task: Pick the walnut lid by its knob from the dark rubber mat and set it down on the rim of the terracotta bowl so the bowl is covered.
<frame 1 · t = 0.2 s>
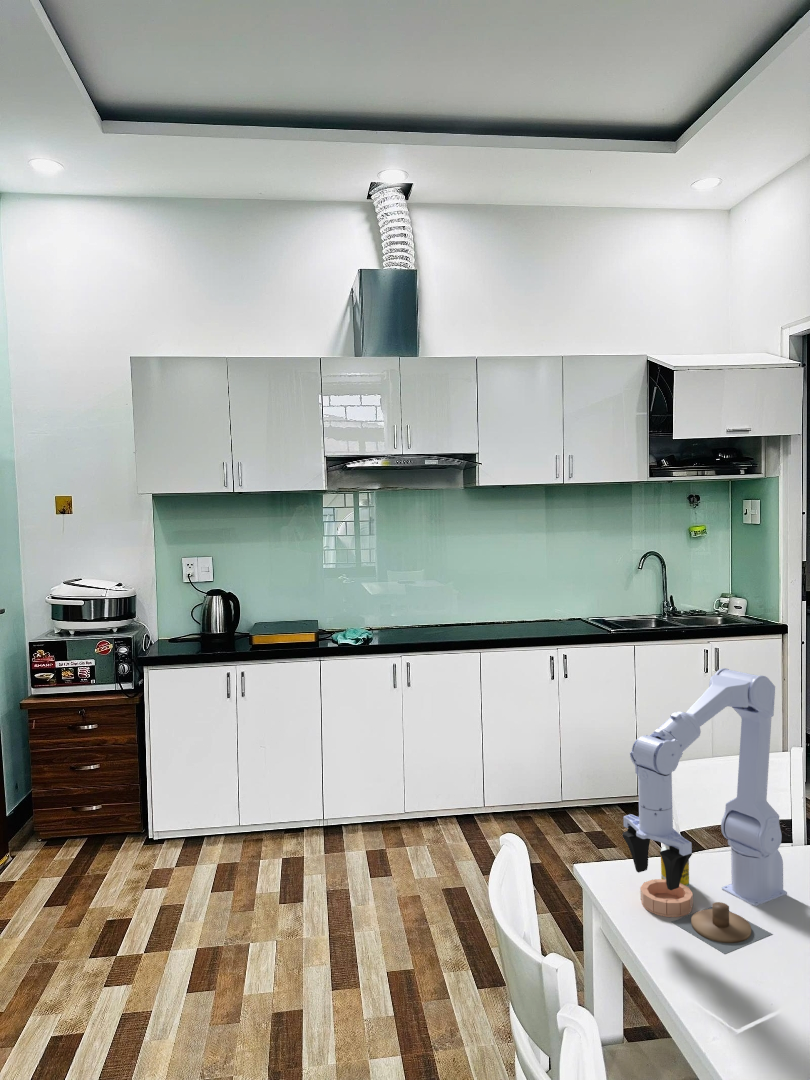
hand: (657, 879, 142), 10 cm above the table, fingers open, 7 cm apart
bowl: (666, 906, 151), on the table
lid: (720, 927, 142), resting on mat
mat: (720, 929, 142), on the table
supplement bottle: (675, 886, 159), on the table
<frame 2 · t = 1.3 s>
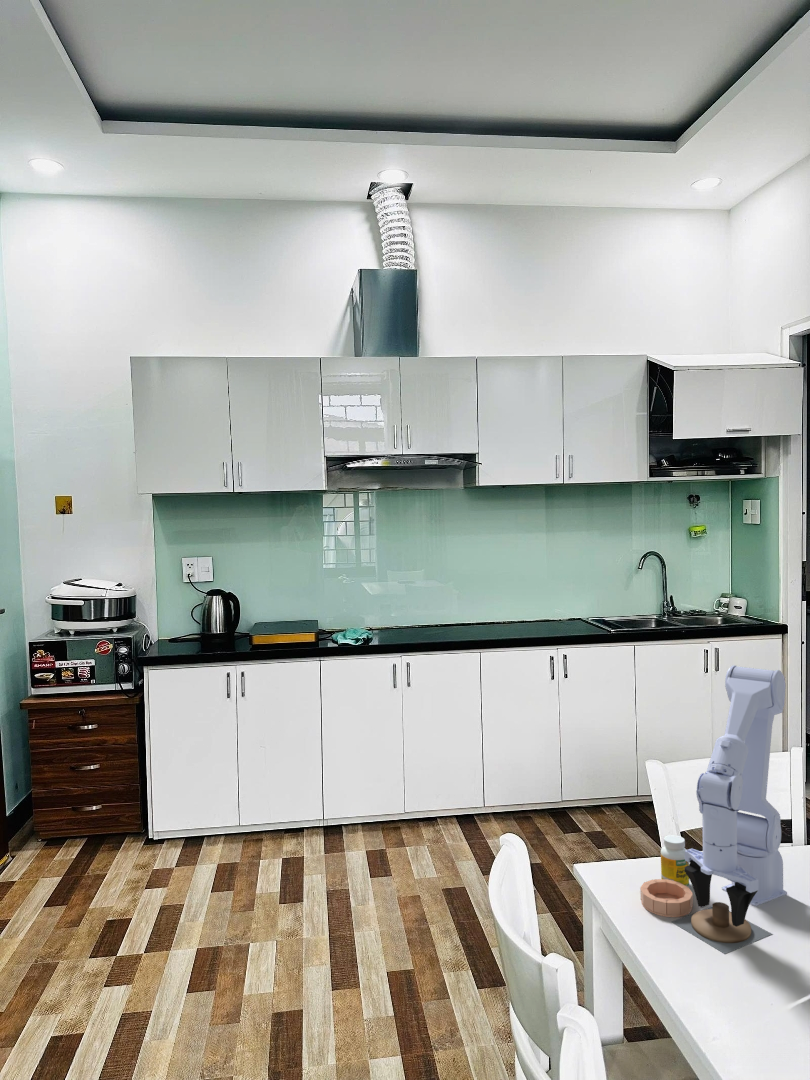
hand: (720, 914, 142), 3 cm above the table, fingers open, 7 cm apart
nothing on the table moved.
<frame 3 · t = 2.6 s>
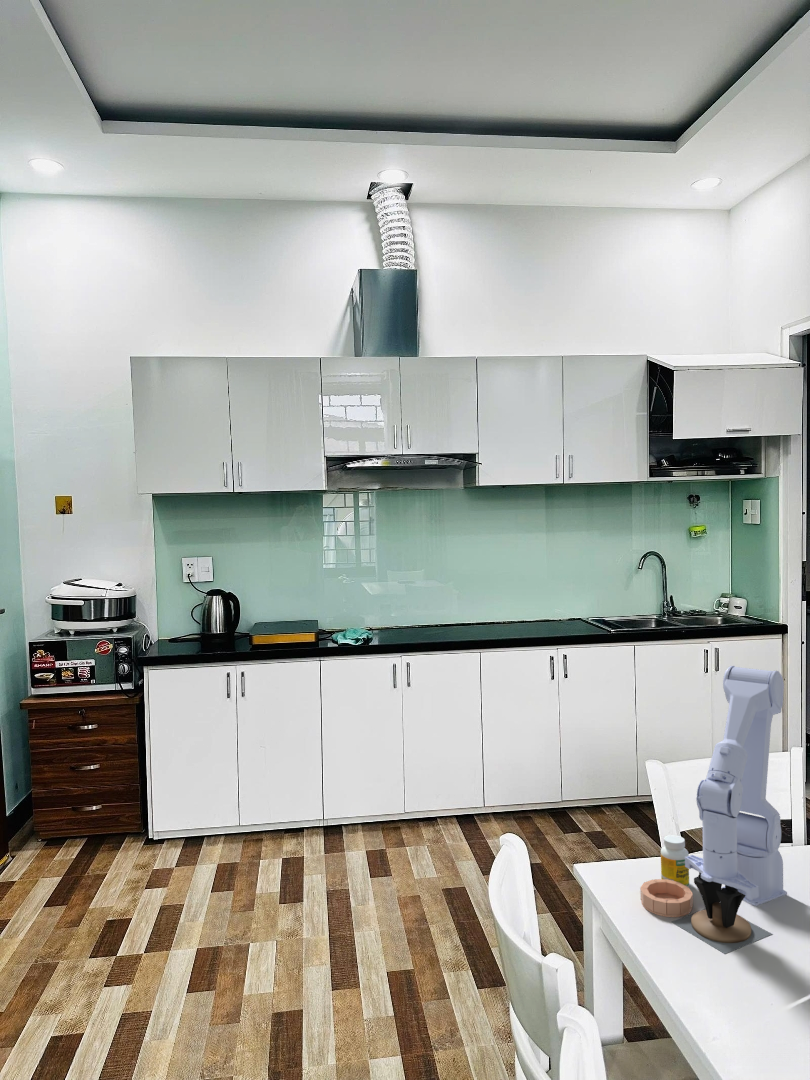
hand: (720, 921, 142), 2 cm above the table, fingers closed on lid, 3 cm apart
lid: (720, 927, 142), resting on mat, touching gripper
everything else where it was.
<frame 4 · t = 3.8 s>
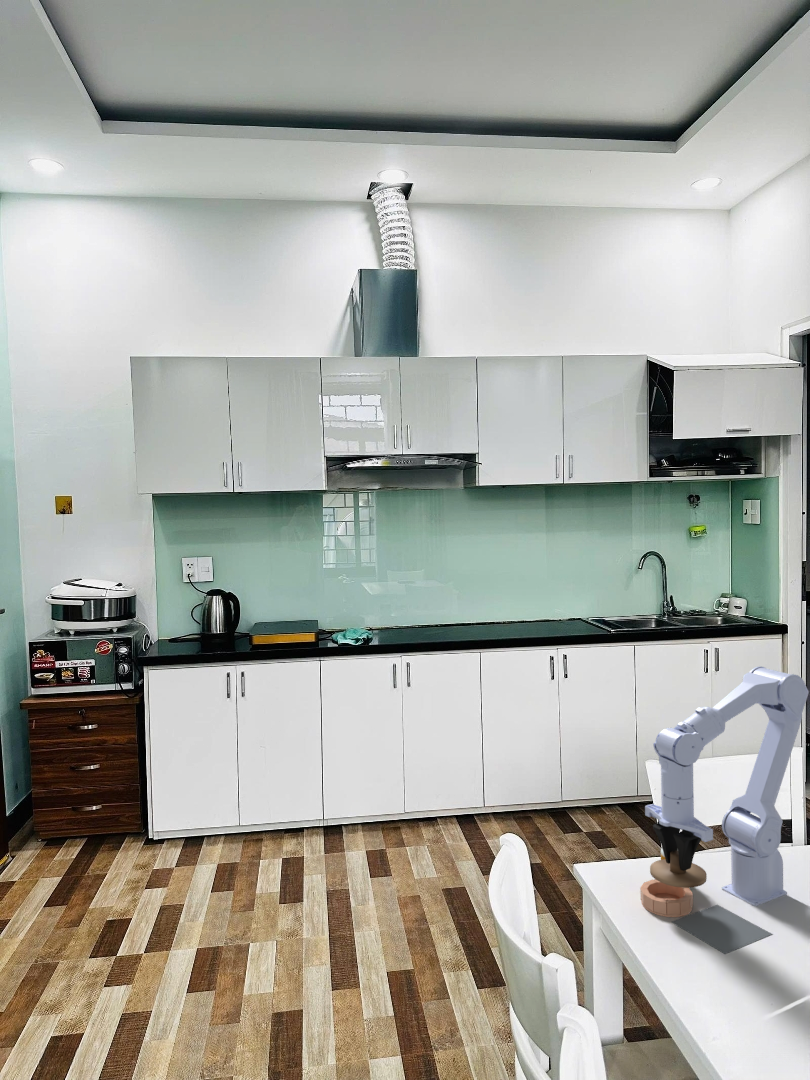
hand: (678, 865, 149), 9 cm above the table, fingers closed on lid, 3 cm apart
lid: (678, 875, 149), point 7 cm above the table, touching gripper
everything else where it was.
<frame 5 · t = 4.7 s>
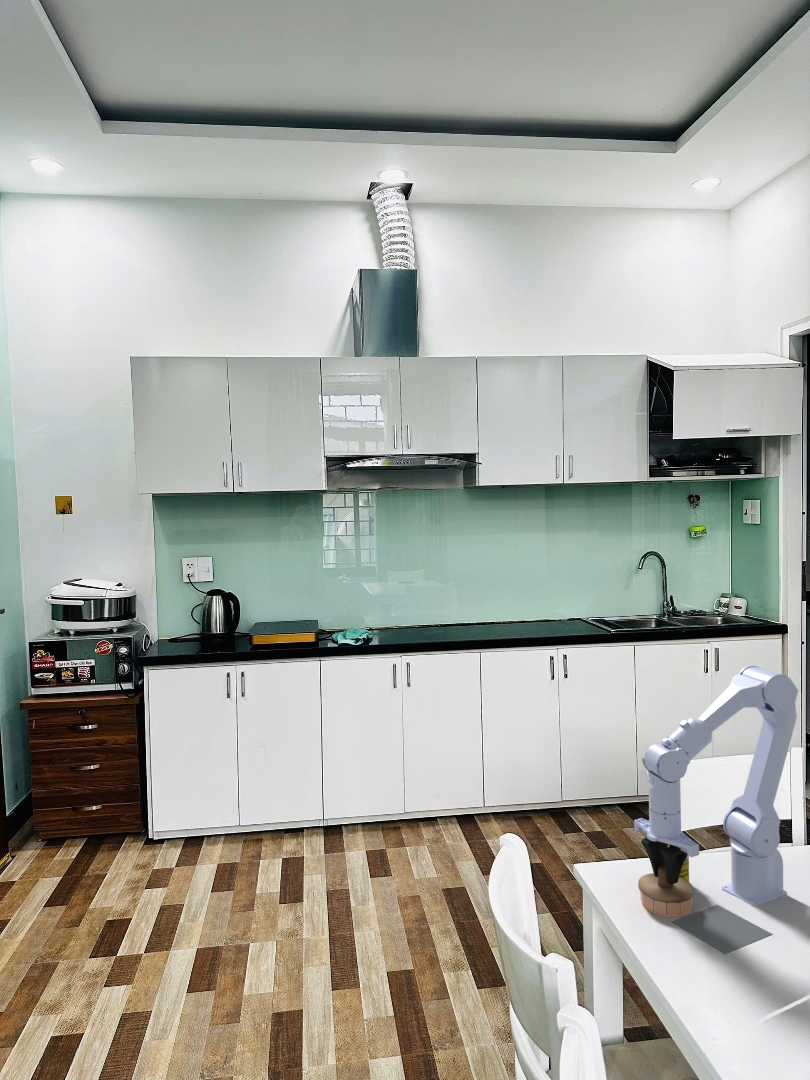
hand: (666, 879, 151), 5 cm above the table, fingers closed on lid, 3 cm apart
lid: (665, 889, 151), point 3 cm above the table, touching gripper
everything else where it was.
when the fingers open (5 cm above the table, at t = 5.3 s): lid stays where it is, resting on bowl.
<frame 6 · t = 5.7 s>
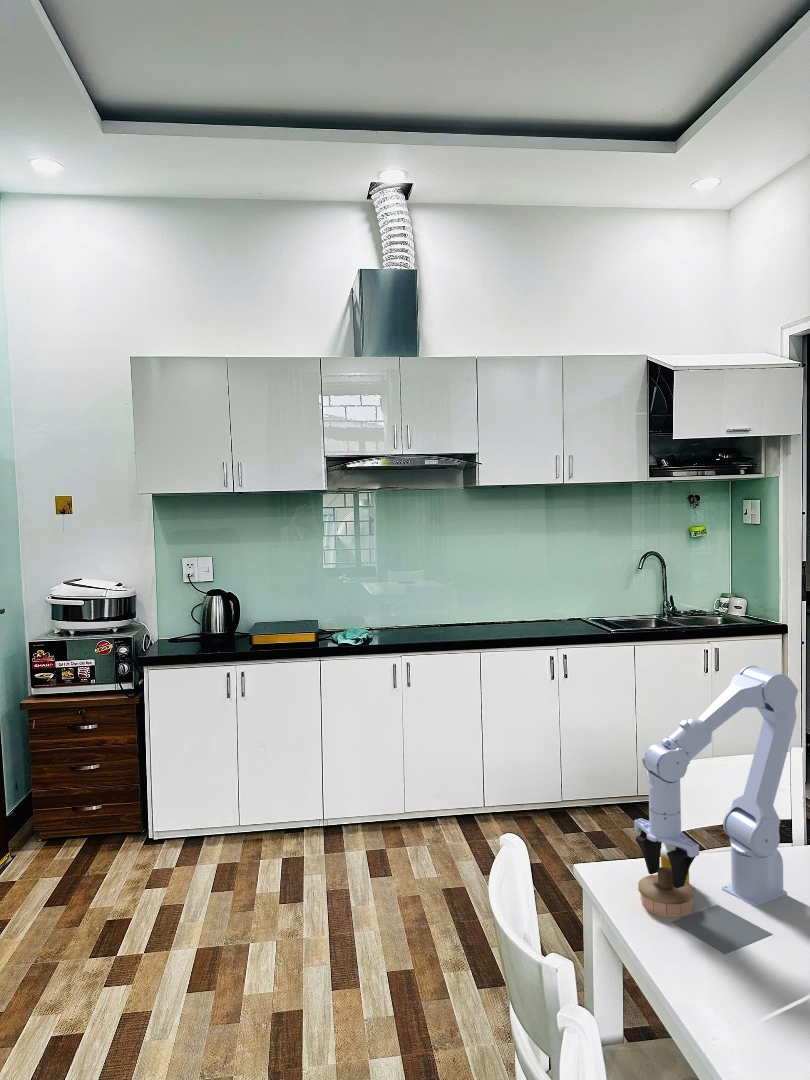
hand: (666, 879, 151), 5 cm above the table, fingers open, 6 cm apart
lid: (665, 891, 151), point 3 cm above the table, touching bowl
everything else where it was.
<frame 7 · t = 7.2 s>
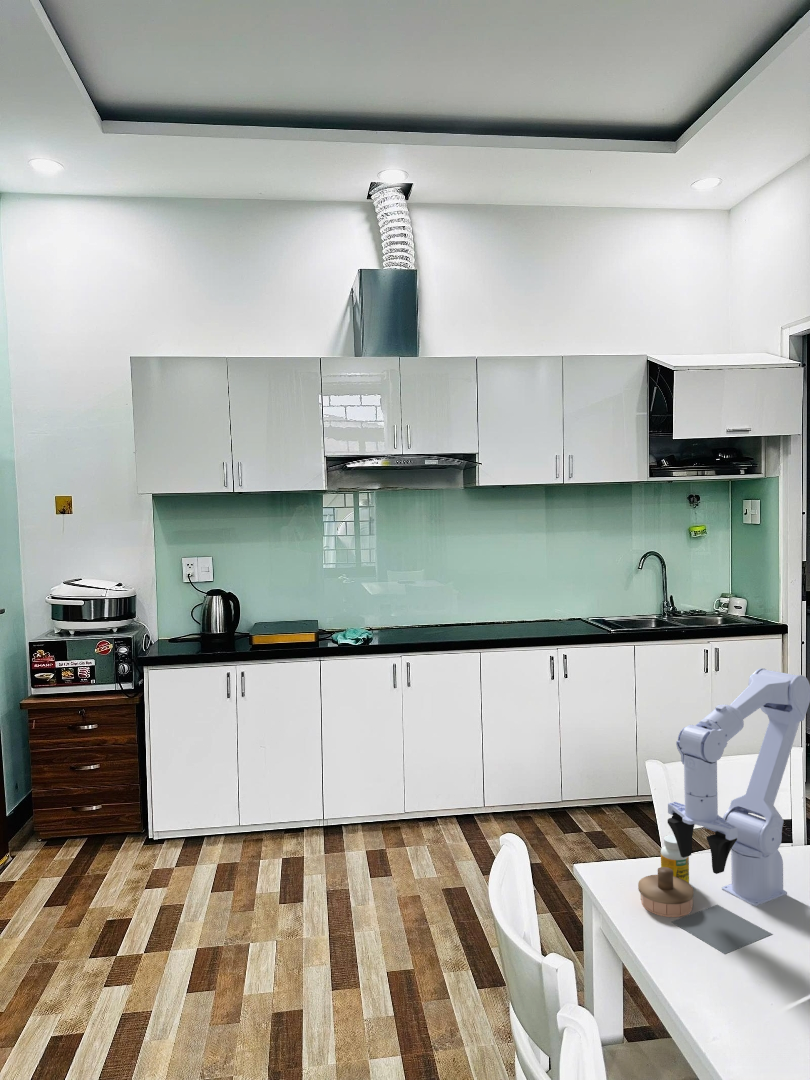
hand: (701, 863, 147), 10 cm above the table, fingers open, 7 cm apart
nothing on the table moved.
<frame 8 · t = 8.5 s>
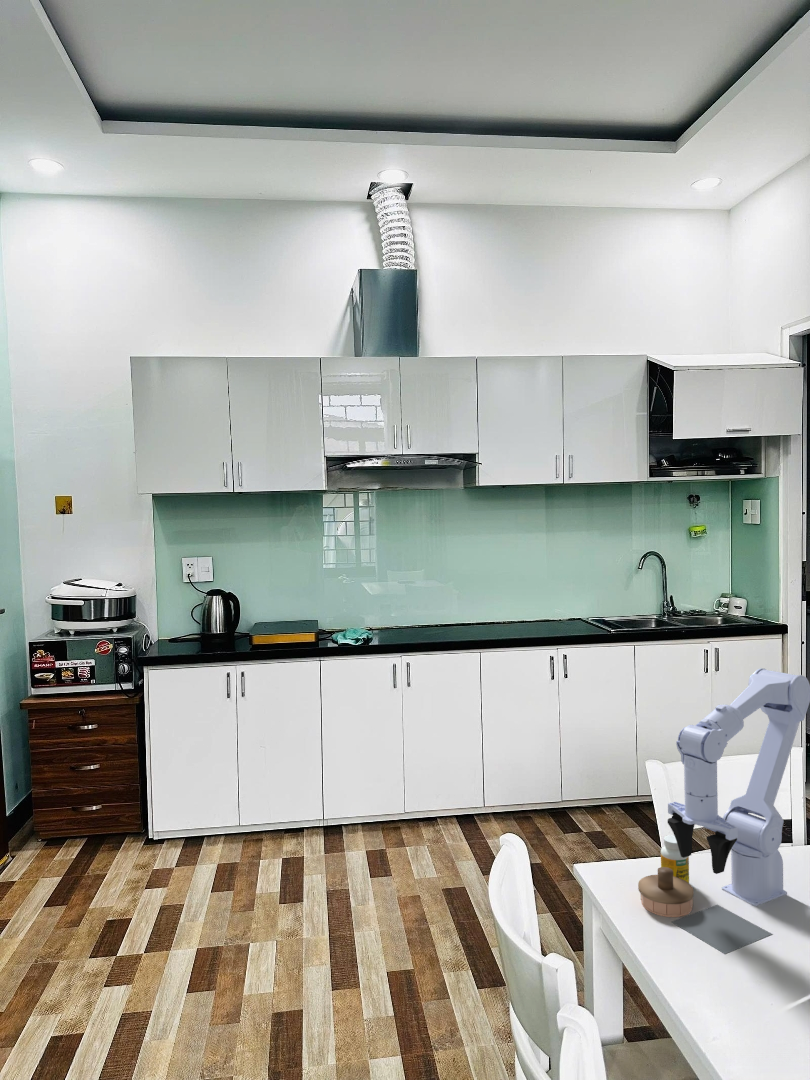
hand: (701, 863, 147), 10 cm above the table, fingers open, 7 cm apart
nothing on the table moved.
at the end: lid 0.2 cm off-centre on the bowl, point 3.0 cm above the bowl's base; lid tilted 0°; the gripper is holding nothing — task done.
